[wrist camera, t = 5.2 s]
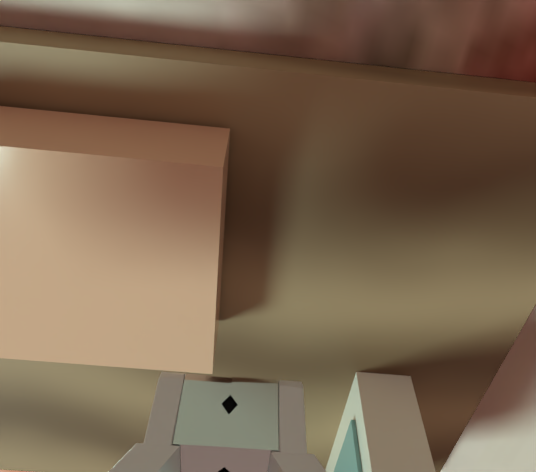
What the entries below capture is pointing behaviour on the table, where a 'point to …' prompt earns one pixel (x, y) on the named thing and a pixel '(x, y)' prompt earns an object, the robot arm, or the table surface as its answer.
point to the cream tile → (381, 428)
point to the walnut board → (306, 233)
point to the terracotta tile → (111, 240)
